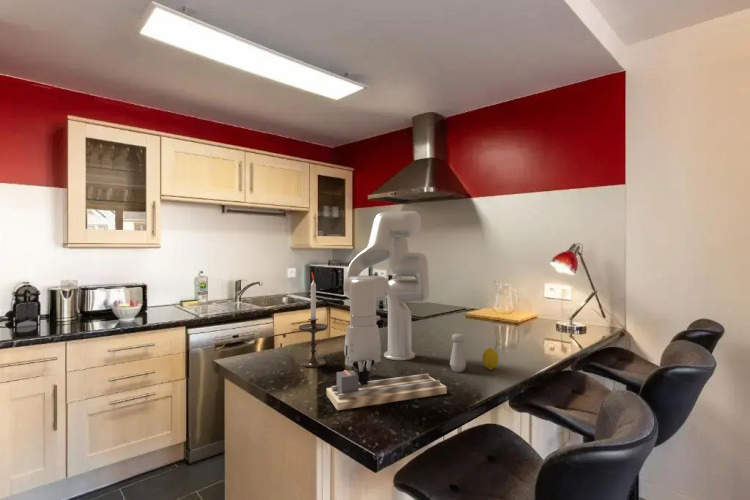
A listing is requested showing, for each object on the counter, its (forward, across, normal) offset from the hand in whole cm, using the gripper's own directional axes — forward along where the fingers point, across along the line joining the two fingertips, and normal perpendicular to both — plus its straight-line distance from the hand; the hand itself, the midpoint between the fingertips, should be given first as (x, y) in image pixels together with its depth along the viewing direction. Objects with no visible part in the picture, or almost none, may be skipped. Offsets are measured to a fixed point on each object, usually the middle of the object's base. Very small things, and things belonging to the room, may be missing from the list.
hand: (363, 383), depth 112 cm
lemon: (+5, -52, -7) cm, 52 cm away
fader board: (+4, -8, 0) cm, 9 cm away
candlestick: (+5, +6, -38) cm, 39 cm away
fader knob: (+2, +5, 0) cm, 5 cm away
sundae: (+5, -9, -19) cm, 21 cm away
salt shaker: (+5, -41, -11) cm, 42 cm away
